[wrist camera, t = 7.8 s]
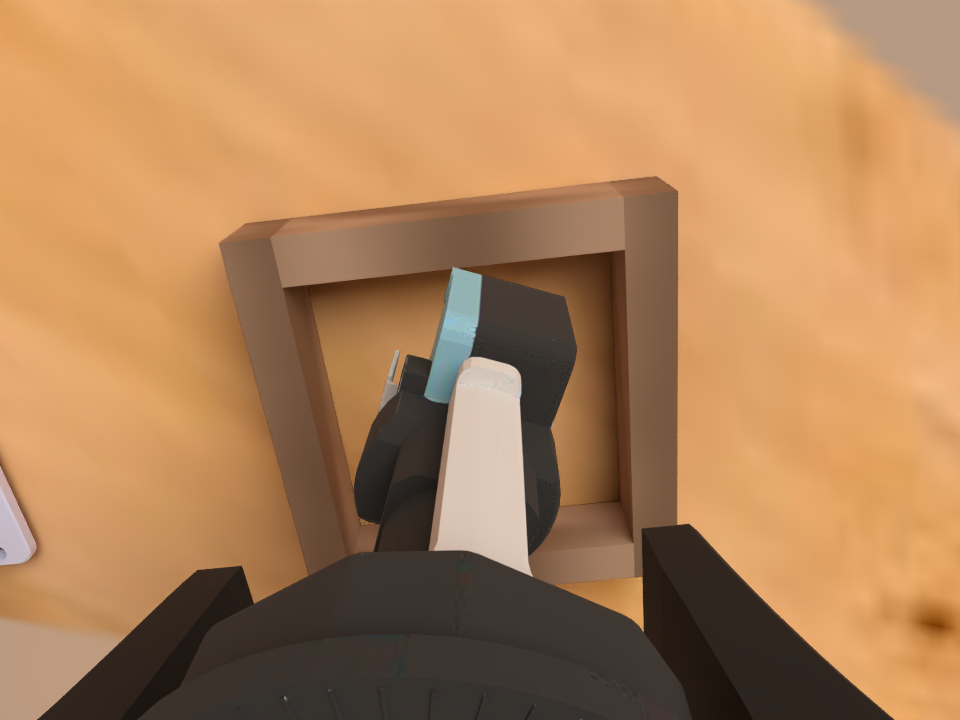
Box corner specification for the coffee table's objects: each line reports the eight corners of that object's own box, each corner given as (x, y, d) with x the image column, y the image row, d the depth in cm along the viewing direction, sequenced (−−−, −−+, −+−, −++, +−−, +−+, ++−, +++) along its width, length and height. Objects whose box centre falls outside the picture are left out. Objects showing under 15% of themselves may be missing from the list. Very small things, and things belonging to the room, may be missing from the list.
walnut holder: (330, 560, 22) (317, 606, 20) (245, 223, 18) (218, 243, 16) (660, 529, 21) (677, 573, 20) (656, 176, 17) (677, 190, 15)
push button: (536, 566, 15) (587, 1320, 6) (301, 511, 15) (-2, 1244, 6) (645, 295, 13) (1009, 960, 4) (359, 217, 12) (-49, 762, 3)
